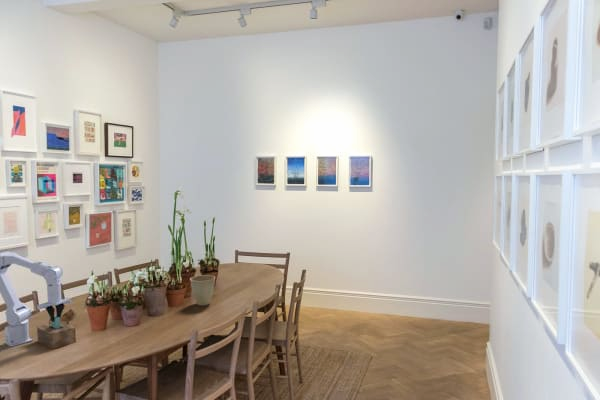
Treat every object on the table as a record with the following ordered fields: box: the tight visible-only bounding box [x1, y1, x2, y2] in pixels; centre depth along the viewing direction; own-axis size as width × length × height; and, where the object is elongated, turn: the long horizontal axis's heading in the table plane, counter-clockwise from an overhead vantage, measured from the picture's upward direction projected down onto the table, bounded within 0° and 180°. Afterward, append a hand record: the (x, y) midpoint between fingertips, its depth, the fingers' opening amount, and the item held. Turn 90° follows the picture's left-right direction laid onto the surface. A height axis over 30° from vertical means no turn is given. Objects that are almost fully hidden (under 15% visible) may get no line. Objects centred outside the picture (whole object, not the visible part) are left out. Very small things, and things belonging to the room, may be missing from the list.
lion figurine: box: [48, 308, 77, 325], centre depth 231 cm, size 15×5×9 cm, turn 120°
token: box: [50, 316, 61, 329], centre depth 211 cm, size 2×5×5 cm, turn 51°
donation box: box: [36, 321, 77, 350], centre depth 211 cm, size 11×16×7 cm
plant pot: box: [189, 274, 216, 306], centre depth 268 cm, size 15×15×16 cm
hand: (55, 320), depth 211 cm, fingers closed on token, 2 cm apart
